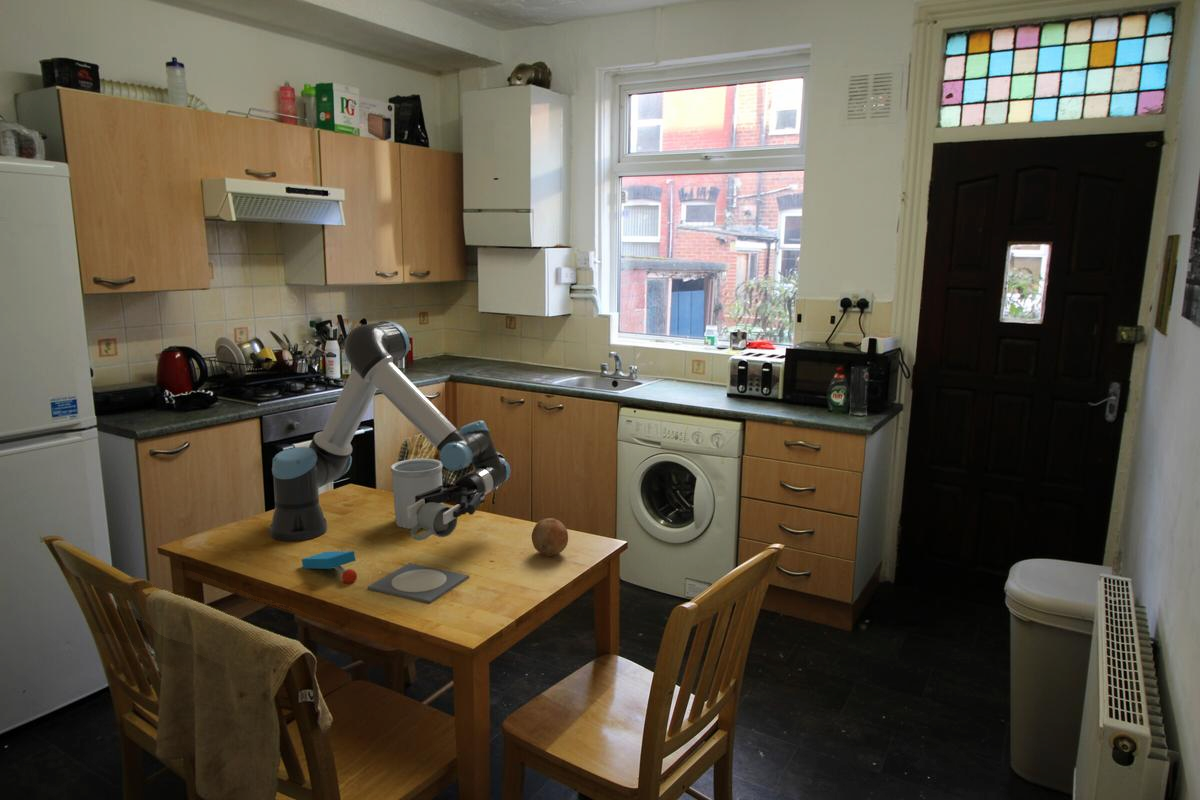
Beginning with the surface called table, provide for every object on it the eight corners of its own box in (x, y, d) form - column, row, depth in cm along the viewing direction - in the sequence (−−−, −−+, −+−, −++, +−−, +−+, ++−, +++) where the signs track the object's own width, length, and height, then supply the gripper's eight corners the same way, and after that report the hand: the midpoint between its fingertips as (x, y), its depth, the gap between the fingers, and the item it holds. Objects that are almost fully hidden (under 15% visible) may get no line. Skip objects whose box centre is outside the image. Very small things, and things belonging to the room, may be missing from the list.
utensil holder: (383, 527, 227) (381, 469, 224) (407, 511, 242) (405, 456, 238) (430, 532, 224) (429, 473, 221) (452, 515, 238) (450, 460, 235)
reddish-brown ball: (569, 547, 214) (569, 512, 212) (566, 562, 204) (567, 525, 202) (533, 547, 214) (533, 512, 212) (529, 561, 204) (529, 524, 202)
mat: (367, 589, 186) (367, 585, 186) (409, 565, 201) (409, 562, 200) (430, 603, 179) (430, 600, 179) (469, 577, 193) (469, 574, 193)
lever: (306, 586, 199) (341, 587, 186) (301, 559, 199) (335, 558, 186) (331, 578, 204) (367, 579, 191) (326, 551, 204) (361, 550, 191)
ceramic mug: (439, 523, 203) (437, 495, 201) (459, 531, 197) (457, 503, 195) (404, 536, 195) (401, 507, 193) (423, 545, 190) (421, 516, 188)
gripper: (510, 504, 209) (466, 537, 189) (439, 494, 217) (389, 523, 197) (509, 478, 207) (465, 507, 187) (437, 468, 215) (387, 495, 195)
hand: (426, 515), depth 192 cm, fingers closed on ceramic mug, 10 cm apart
